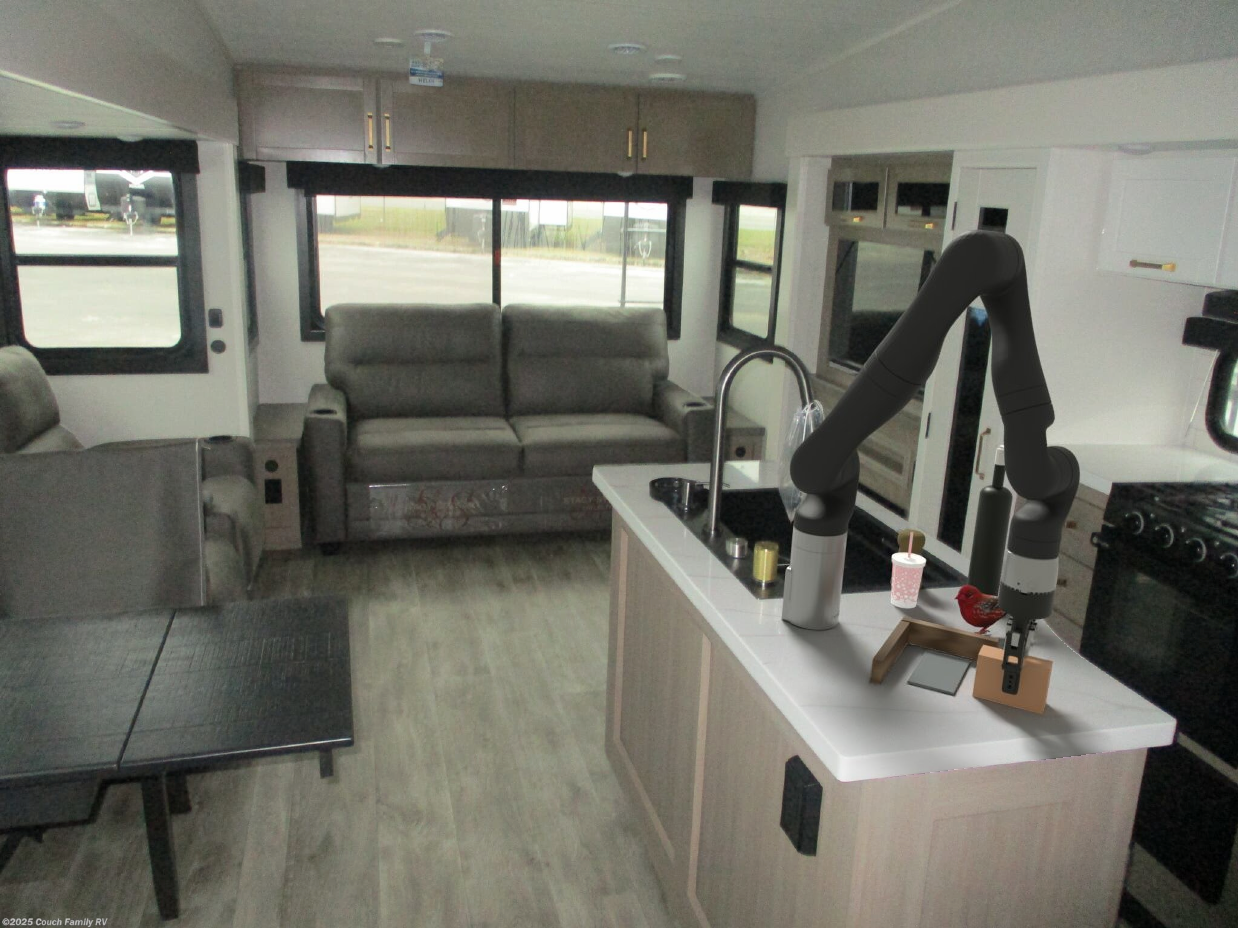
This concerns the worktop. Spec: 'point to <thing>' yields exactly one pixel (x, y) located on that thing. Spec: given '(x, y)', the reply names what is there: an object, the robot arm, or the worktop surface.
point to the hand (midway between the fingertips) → (1013, 681)
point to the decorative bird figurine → (978, 608)
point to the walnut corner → (926, 643)
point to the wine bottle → (991, 531)
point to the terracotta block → (1030, 684)
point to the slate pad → (939, 672)
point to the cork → (917, 543)
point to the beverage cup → (906, 577)
